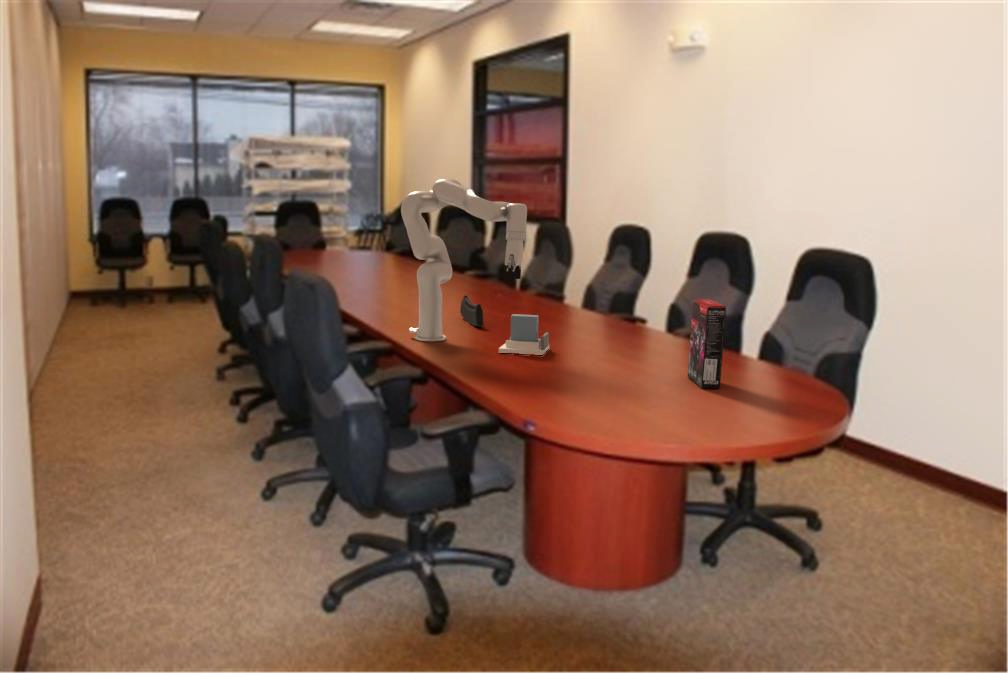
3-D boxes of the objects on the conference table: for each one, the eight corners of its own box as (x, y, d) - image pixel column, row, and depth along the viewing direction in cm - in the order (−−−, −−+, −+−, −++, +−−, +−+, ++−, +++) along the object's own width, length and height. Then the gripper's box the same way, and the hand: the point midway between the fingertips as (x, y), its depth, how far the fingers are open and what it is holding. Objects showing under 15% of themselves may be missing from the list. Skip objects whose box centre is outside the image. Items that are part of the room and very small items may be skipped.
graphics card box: (686, 377, 303) (690, 298, 298) (706, 377, 304) (711, 298, 299) (701, 389, 287) (706, 305, 282) (722, 389, 287) (727, 306, 282)
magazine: (485, 309, 388) (469, 281, 413) (478, 309, 387) (462, 281, 413) (481, 344, 396) (466, 314, 421) (474, 344, 395) (459, 314, 420)
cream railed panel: (498, 353, 338) (499, 335, 337) (506, 346, 351) (507, 329, 350) (542, 356, 334) (543, 338, 333) (549, 349, 348) (549, 331, 346)
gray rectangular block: (510, 346, 342) (510, 315, 340) (512, 344, 346) (513, 314, 343) (535, 348, 340) (536, 317, 337) (537, 346, 343) (538, 315, 341)
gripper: (511, 233, 350) (509, 277, 353) (500, 236, 333) (498, 282, 337) (530, 235, 348) (527, 278, 351) (520, 238, 332) (517, 283, 335)
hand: (513, 280), depth 344 cm, fingers open, 9 cm apart
